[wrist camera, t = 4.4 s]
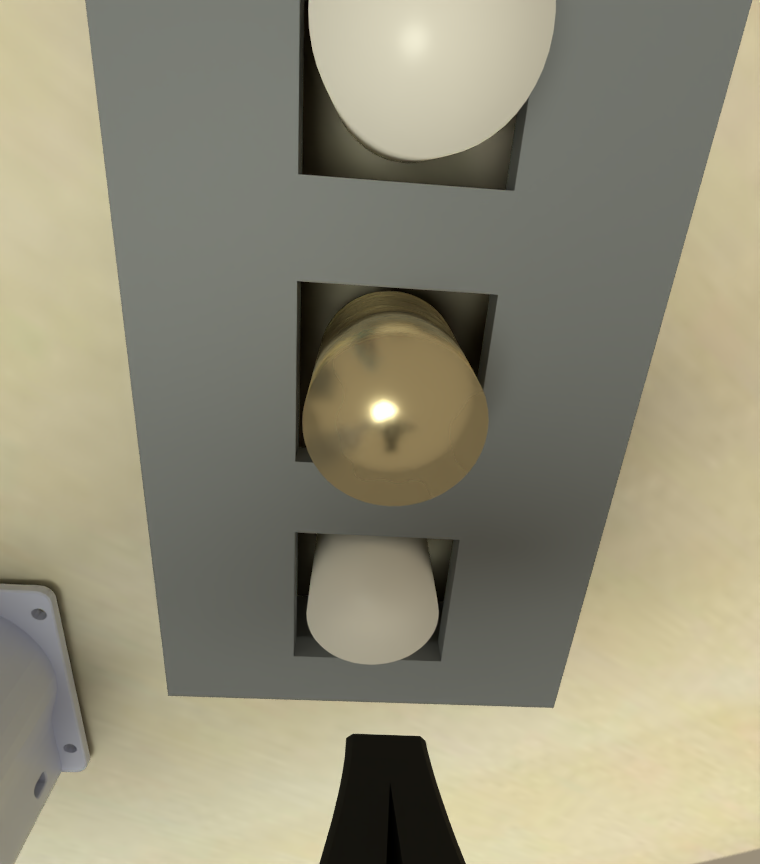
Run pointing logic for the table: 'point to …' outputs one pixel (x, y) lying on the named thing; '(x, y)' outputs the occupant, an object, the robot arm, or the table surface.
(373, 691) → the grey slotted block
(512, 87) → the near knob
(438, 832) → the robot arm
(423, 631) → the far knob
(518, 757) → the table surface
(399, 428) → the brass knob
